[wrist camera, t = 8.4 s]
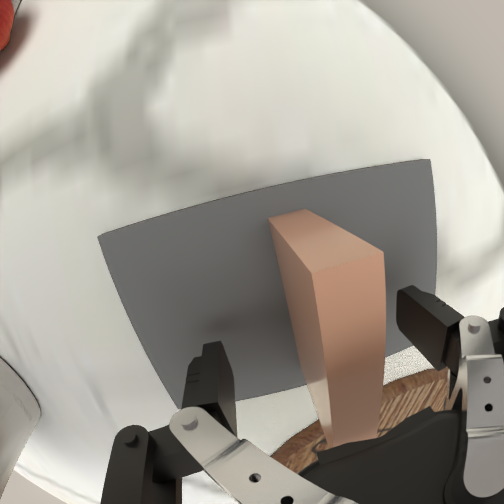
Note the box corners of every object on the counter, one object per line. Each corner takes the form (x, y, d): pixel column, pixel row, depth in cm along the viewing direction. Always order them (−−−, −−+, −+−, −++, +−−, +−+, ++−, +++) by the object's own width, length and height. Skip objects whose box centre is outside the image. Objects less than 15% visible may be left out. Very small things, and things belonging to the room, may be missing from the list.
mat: (179, 403, 16) (178, 409, 16) (102, 234, 13) (97, 236, 12) (426, 332, 16) (430, 337, 16) (424, 159, 13) (430, 159, 12)
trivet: (282, 384, 17) (288, 404, 15) (496, 346, 19) (506, 355, 17) (249, 505, 24) (250, 516, 22) (409, 472, 26) (413, 480, 24)
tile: (267, 217, 12) (311, 273, 6) (305, 208, 12) (383, 251, 6) (300, 367, 15) (334, 463, 8) (329, 358, 15) (374, 448, 8)
